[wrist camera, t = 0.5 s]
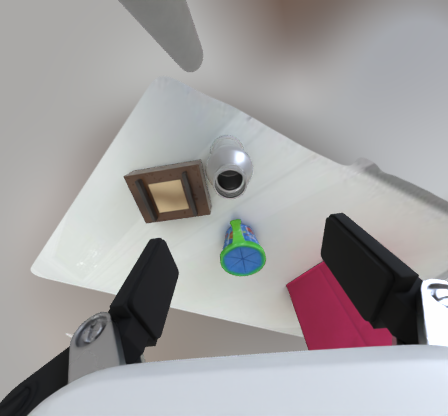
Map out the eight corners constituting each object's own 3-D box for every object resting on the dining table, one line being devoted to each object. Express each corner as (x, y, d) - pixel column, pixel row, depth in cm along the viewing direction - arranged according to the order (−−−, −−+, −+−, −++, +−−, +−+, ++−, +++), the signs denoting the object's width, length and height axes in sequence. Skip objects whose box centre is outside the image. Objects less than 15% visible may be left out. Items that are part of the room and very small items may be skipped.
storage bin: (281, 286, 58) (323, 413, 33) (355, 235, 47) (503, 372, 22) (329, 312, 66) (391, 430, 42) (402, 275, 55) (547, 406, 30)
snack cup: (258, 252, 50) (265, 282, 41) (223, 255, 51) (223, 284, 42) (258, 208, 42) (267, 233, 34) (217, 212, 43) (215, 237, 34)
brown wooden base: (132, 170, 38) (119, 179, 33) (200, 159, 36) (197, 166, 32) (152, 214, 43) (143, 227, 39) (211, 206, 42) (210, 218, 37)
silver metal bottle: (213, 130, 33) (203, 147, 16) (246, 137, 34) (269, 161, 17) (209, 162, 37) (195, 204, 19) (238, 167, 37) (251, 214, 20)
